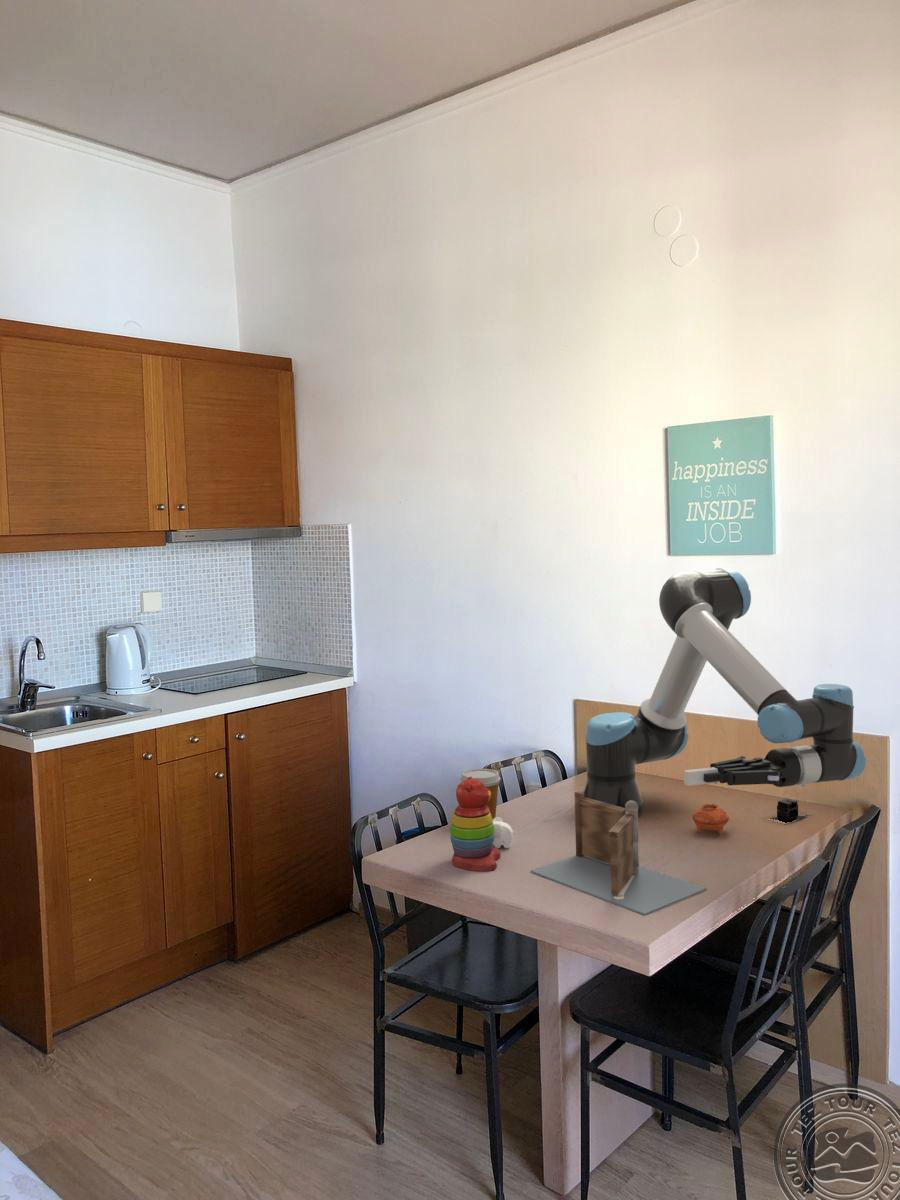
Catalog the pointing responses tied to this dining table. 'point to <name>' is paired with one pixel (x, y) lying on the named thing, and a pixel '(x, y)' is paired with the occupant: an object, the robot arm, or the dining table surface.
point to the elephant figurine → (502, 833)
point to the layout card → (637, 893)
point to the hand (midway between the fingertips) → (686, 778)
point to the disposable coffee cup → (486, 784)
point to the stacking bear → (473, 828)
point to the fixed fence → (601, 828)
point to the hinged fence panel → (621, 852)
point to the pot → (710, 818)
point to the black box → (787, 811)
